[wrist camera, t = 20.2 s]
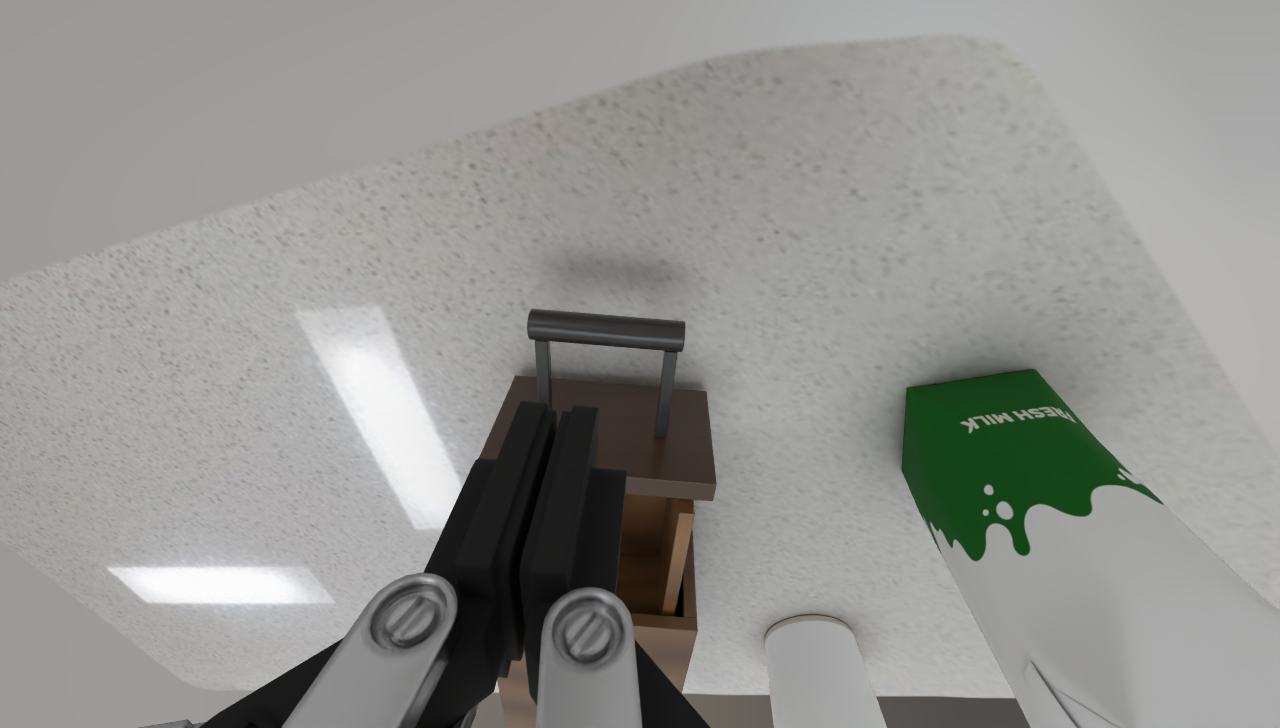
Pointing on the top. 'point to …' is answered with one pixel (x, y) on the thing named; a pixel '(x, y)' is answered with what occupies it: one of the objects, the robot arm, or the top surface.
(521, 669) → the cabinet
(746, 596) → the top surface
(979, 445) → the milk carton
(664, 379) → the drawer
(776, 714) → the mug
